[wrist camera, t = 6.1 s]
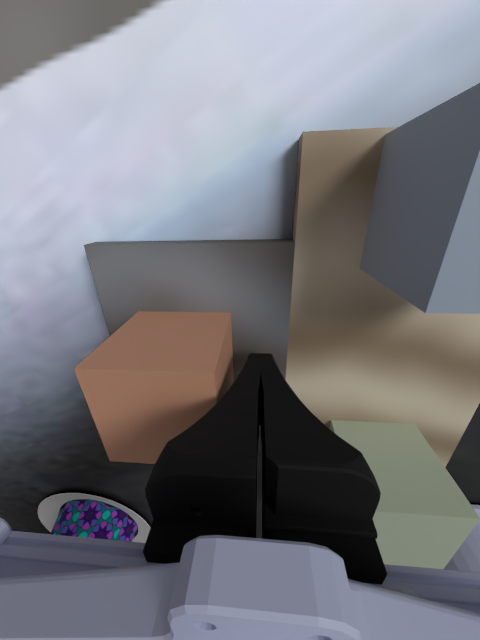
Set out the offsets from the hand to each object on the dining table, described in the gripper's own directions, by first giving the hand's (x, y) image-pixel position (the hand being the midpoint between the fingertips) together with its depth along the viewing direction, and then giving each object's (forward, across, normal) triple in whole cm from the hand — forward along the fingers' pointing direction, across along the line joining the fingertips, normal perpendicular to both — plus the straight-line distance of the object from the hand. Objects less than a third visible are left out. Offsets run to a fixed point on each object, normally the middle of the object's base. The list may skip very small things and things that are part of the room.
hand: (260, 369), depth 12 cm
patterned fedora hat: (+3, +16, +22) cm, 28 cm away
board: (+2, -2, 0) cm, 3 cm away
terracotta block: (+1, +4, 0) cm, 4 cm away
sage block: (+1, -7, +7) cm, 10 cm away
